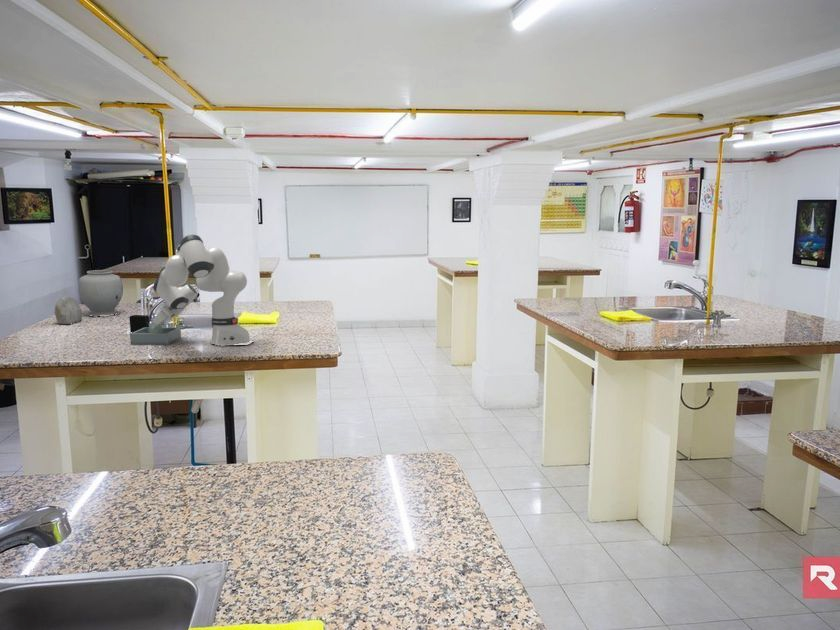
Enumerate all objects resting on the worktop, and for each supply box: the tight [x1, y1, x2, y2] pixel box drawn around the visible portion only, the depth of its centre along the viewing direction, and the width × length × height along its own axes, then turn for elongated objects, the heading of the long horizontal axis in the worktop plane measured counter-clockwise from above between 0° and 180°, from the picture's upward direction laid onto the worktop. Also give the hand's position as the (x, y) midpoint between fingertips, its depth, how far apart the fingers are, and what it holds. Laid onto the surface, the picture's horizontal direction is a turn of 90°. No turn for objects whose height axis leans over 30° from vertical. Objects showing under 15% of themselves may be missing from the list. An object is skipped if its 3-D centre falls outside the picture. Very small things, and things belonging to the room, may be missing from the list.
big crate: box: [129, 327, 182, 346], centre depth 349 cm, size 20×18×6 cm
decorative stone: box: [54, 296, 83, 325], centre depth 403 cm, size 17×20×10 cm
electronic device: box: [128, 314, 150, 333], centre depth 373 cm, size 4×10×10 cm, turn 78°
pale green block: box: [149, 321, 163, 333], centre depth 348 cm, size 5×5×9 cm
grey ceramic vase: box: [77, 269, 124, 316], centre depth 431 cm, size 27×27×30 cm
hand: (156, 326), depth 348 cm, fingers open, 8 cm apart
